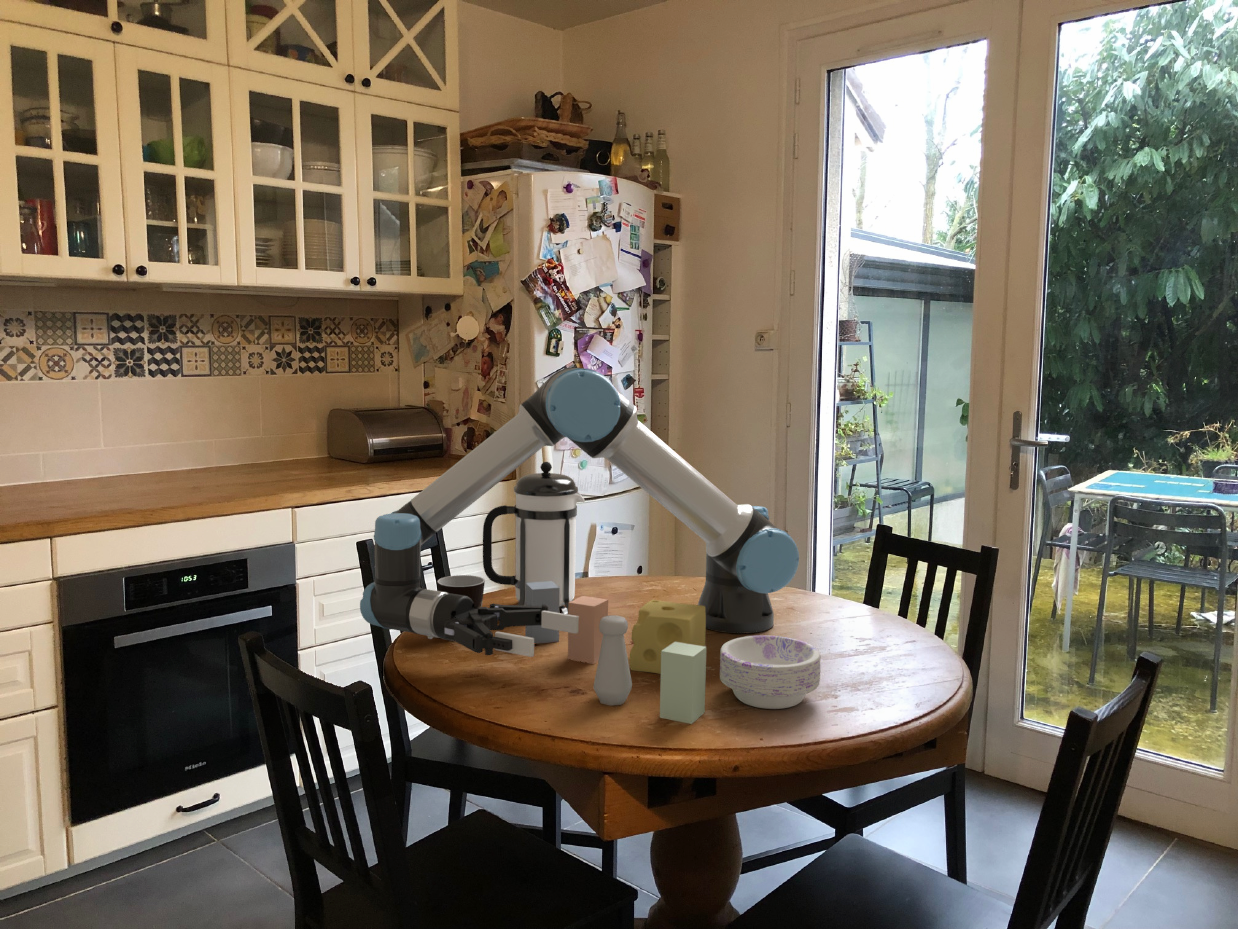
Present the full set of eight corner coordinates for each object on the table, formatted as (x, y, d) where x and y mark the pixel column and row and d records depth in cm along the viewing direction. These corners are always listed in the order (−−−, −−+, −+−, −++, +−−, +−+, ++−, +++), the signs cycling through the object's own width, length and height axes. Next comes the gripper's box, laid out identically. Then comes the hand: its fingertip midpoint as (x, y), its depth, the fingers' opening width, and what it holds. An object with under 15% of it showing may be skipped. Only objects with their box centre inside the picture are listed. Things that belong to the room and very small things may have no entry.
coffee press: (547, 593, 209) (548, 455, 205) (596, 609, 197) (598, 462, 194) (480, 607, 197) (480, 460, 194) (528, 625, 186) (529, 469, 182)
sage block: (673, 706, 146) (675, 641, 144) (704, 712, 144) (706, 646, 142) (659, 717, 141) (661, 651, 140) (691, 724, 139) (693, 656, 138)
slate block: (551, 633, 181) (552, 581, 179) (559, 641, 176) (559, 587, 175) (525, 635, 179) (525, 582, 178) (532, 644, 174) (532, 589, 173)
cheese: (628, 671, 161) (629, 612, 160) (650, 652, 171) (651, 597, 170) (688, 680, 157) (690, 620, 156) (707, 660, 167) (709, 603, 166)
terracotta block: (582, 651, 171) (582, 595, 170) (607, 655, 169) (608, 599, 167) (567, 659, 166) (568, 602, 165) (593, 664, 164) (594, 606, 163)
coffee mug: (475, 642, 175) (475, 588, 173) (430, 638, 176) (429, 584, 175) (496, 624, 186) (496, 573, 185) (453, 621, 188) (453, 570, 186)
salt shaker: (636, 696, 149) (638, 614, 148) (624, 710, 144) (626, 624, 142) (600, 691, 151) (602, 610, 150) (587, 704, 146) (588, 620, 144)
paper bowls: (707, 709, 145) (709, 657, 144) (732, 676, 159) (733, 629, 158) (810, 724, 140) (812, 671, 139) (826, 689, 154) (828, 641, 153)
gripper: (487, 619, 172) (593, 638, 162) (395, 658, 150) (511, 683, 140) (487, 578, 171) (594, 594, 161) (395, 611, 149) (512, 632, 139)
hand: (556, 635), depth 151 cm, fingers open, 13 cm apart
